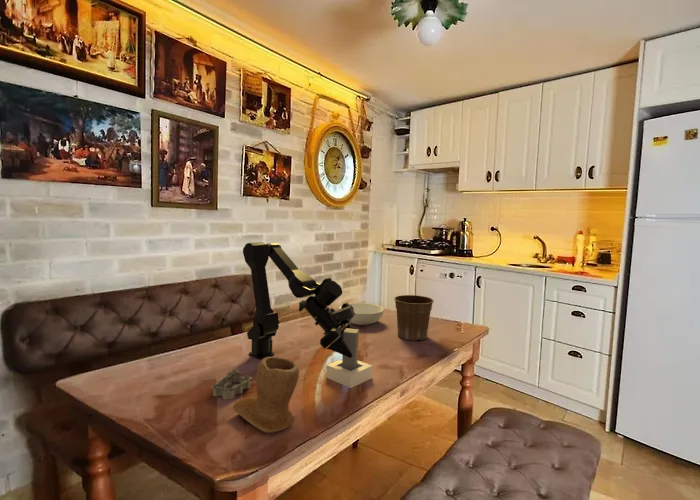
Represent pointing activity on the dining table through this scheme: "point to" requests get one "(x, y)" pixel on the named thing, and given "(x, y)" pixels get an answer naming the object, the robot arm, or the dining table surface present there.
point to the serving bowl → (365, 313)
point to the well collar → (349, 373)
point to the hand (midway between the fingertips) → (354, 351)
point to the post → (351, 348)
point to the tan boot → (271, 395)
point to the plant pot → (413, 316)
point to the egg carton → (226, 388)
